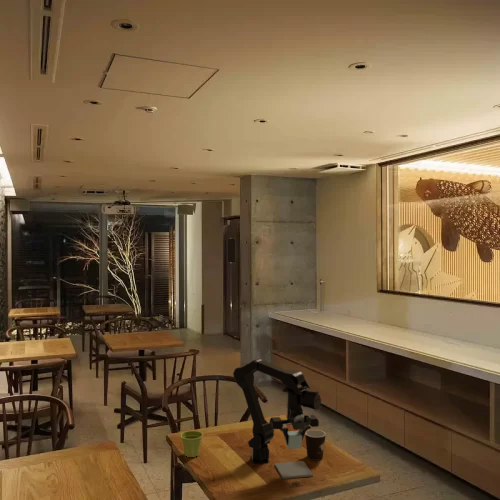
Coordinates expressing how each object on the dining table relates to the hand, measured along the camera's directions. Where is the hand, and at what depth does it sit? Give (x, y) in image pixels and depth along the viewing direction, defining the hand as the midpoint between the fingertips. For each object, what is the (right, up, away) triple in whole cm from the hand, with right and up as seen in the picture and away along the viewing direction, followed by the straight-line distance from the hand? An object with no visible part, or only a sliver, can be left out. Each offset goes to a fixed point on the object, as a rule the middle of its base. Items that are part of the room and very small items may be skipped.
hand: (293, 443), depth 203 cm
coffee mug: (+11, -11, +14) cm, 21 cm away
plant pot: (-42, -10, +14) cm, 45 cm away
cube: (0, -1, 0) cm, 1 cm away
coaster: (0, -11, 0) cm, 11 cm away
